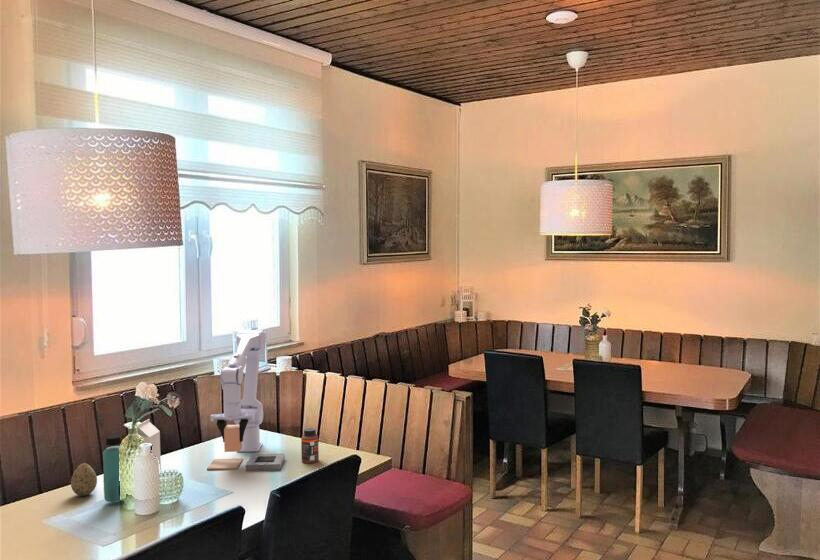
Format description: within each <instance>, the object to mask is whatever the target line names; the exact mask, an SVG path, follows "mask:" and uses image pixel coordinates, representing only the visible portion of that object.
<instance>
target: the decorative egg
mask: <svg viewBox="0 0 820 560" xmlns="http://www.w3.org/2000/svg"><path fill="white" fill-rule="evenodd" d="M97 478H98V477H97V473H96V471H95V469H93V468H92V467H91V465H90V464H88V463H85V462H82V463H80V464H79V465H78V466H77V467H76V469H75V470H74V471H73V474H72V475H71V480H70V487H71V490H72V491H73V493H74V494H75V495H77V496H80V497H85V496H88V495H90V494H92V493H93V492H94V491H95V489H96V487H97V484H98V479H97Z"/></svg>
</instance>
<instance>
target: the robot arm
mask: <svg viewBox="0 0 820 560" xmlns="http://www.w3.org/2000/svg"><path fill="white" fill-rule="evenodd" d="M266 339H267V338H266V333H265V331H264V330H238V332H237V333H236V340H235V341H236V343H235V344H236V345H237V348H236V352H235V353H233V354H232V355H231V357H230V359H229V360H228V363H227V365H226V367H224V368H222V369H221V371H220V377H219V378H220V384H221V389H222V390H223V391H222V393H223V413H219V414H210V422H216V427H217V428H218V430H219V433H220V434H221V438H222V442H223V443H224V428H225V427H226V426H227V421H234V424H235V425H239V427H240V442H242V448H241V450H240V451H239V452H238V453H241V452H242V453H243V452H244V453H245V452H260V449H261V447H262V445H263V442H261V438H260V435H261V434H260V431H261V430H260V425H261V424H262V423H263V420H264V405H263V403H262V402H261V401H259V399H257V392H258V391H257V390H258V381H259V380H258V379H259V368H260V367H259V366H260V358H261V355H263V354H265V351H266ZM244 370H245V371H244ZM244 372H245V374H244ZM243 379H244V384H243V393H241V391H242V389H241V384H242V383H243ZM242 394H243V396H242ZM241 397H242V398H241Z"/></svg>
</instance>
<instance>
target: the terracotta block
mask: <svg viewBox="0 0 820 560" xmlns="http://www.w3.org/2000/svg"><path fill="white" fill-rule="evenodd" d="M223 443H224V453H231V452H233V453H235V452H236V453H240V452H239V451H240V450H241V448H242V442H240V427H239V425H237V424H226V427H225V428H224V442H223Z"/></svg>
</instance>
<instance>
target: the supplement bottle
mask: <svg viewBox="0 0 820 560" xmlns="http://www.w3.org/2000/svg"><path fill="white" fill-rule="evenodd" d="M316 432H317V431H316V428H313V427H307V428H304V429H303V435H302V436H301V439H300V440H301V446H300V447H301V461H302V463H305V464H314V463H317V462H319V459H320V458H319V457H320V456H319V455H320V454H319V453H320V451H319V435H318V434H317V433H316Z"/></svg>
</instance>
